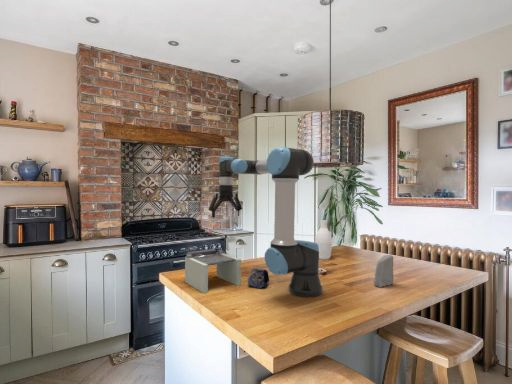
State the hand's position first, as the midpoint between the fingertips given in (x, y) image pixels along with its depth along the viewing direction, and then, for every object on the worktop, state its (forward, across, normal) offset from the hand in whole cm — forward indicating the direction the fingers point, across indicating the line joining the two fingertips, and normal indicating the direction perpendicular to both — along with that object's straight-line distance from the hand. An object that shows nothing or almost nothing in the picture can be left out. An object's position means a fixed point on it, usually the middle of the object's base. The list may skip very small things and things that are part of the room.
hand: (225, 222), depth 174 cm
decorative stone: (+28, -54, +63) cm, 87 cm away
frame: (+28, +15, +14) cm, 35 cm away
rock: (+28, -2, +28) cm, 40 cm away
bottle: (+28, -74, +5) cm, 79 cm away
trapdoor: (+21, +15, +11) cm, 28 cm away
